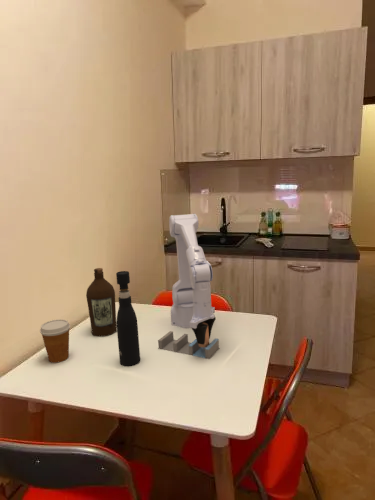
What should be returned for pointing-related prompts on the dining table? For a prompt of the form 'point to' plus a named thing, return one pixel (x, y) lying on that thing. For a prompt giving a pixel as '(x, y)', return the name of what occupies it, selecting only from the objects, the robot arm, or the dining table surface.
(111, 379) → the dining table surface
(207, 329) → the tan rounded cylinder
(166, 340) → the grey slotted rack
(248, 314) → the dining table surface
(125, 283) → the wine bottle
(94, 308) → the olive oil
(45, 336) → the disposable coffee cup
